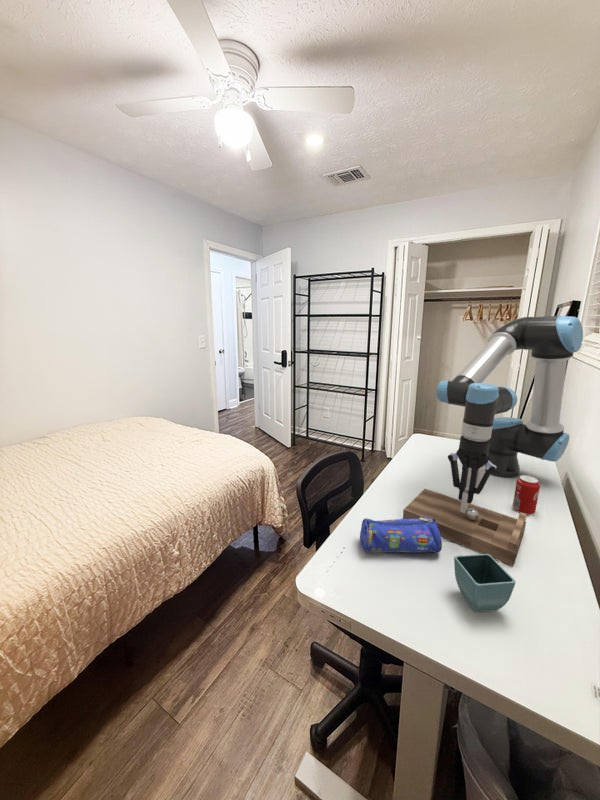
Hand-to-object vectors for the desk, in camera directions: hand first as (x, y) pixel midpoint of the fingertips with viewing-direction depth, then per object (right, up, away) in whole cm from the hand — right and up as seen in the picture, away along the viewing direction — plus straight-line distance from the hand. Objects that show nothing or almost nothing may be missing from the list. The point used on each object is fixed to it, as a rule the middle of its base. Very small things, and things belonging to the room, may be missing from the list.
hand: (463, 510), depth 97 cm
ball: (+2, -1, -1) cm, 2 cm away
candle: (+17, 0, +26) cm, 30 cm away
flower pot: (-10, -12, -25) cm, 29 cm away
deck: (0, -6, +2) cm, 6 cm away
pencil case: (-22, -8, -8) cm, 25 cm away
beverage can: (+25, -4, +10) cm, 27 cm away
